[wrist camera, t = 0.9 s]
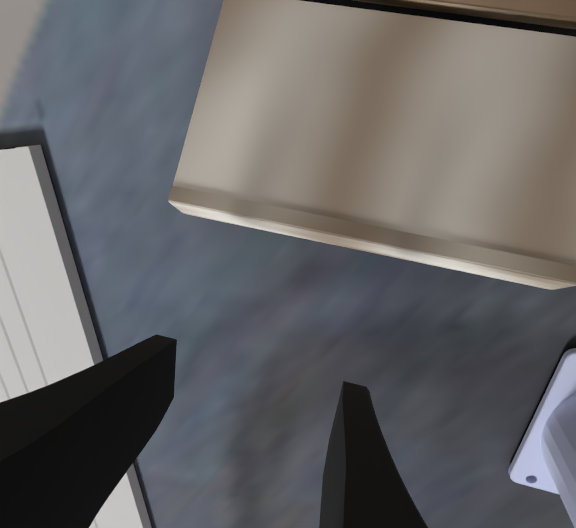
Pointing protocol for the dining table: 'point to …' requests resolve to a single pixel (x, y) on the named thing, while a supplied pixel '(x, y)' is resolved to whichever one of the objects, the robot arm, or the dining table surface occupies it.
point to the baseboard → (47, 306)
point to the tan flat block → (389, 137)
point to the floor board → (500, 9)
